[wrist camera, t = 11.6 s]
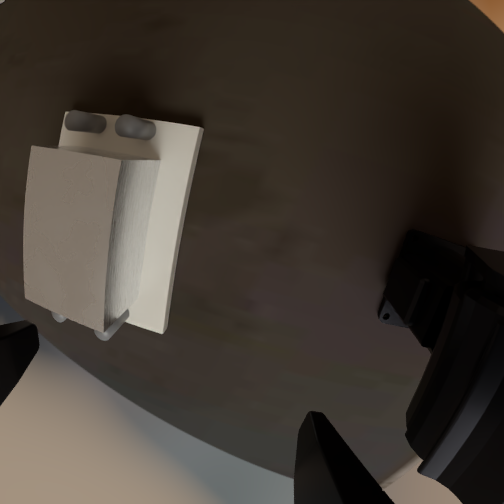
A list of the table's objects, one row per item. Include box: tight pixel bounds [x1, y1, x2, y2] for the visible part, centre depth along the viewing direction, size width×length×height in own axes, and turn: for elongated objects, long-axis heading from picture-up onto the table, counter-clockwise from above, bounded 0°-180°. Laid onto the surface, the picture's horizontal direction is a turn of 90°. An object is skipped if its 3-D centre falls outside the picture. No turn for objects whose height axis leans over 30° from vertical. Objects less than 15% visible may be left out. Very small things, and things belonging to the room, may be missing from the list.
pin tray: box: [51, 110, 204, 341], centre depth 18 cm, size 10×14×4 cm
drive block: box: [23, 146, 161, 333], centre depth 16 cm, size 6×9×5 cm, turn 166°
